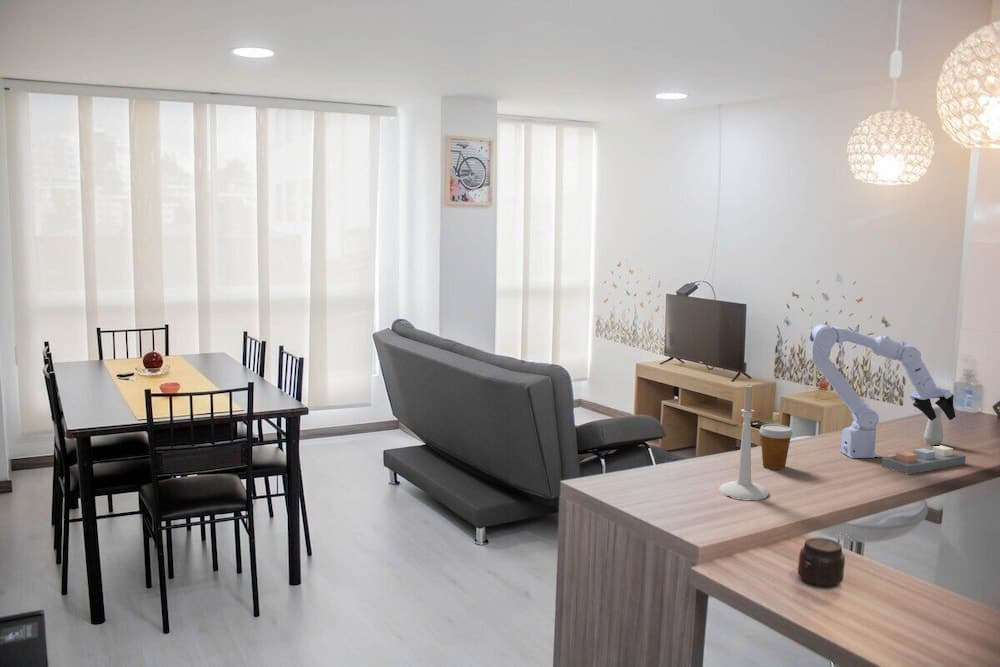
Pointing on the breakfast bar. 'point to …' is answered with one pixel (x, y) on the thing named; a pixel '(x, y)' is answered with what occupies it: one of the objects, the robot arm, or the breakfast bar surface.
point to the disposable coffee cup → (775, 445)
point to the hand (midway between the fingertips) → (943, 418)
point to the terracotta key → (906, 457)
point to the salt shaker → (934, 428)
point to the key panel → (924, 463)
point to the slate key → (925, 454)
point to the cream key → (943, 450)
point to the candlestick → (745, 460)
